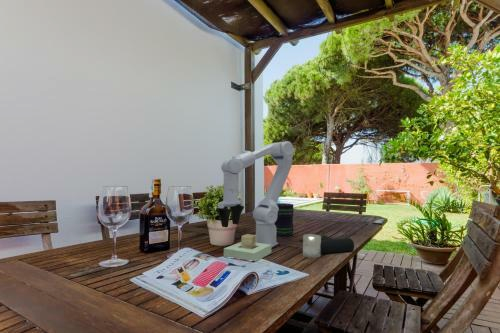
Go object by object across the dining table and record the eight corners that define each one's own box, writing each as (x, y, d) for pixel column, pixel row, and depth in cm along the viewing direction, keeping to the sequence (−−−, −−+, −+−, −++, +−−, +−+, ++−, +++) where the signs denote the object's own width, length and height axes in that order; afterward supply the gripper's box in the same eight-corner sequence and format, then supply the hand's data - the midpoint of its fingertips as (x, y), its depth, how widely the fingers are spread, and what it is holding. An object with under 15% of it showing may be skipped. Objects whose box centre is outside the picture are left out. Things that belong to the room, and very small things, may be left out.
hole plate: (243, 248, 118) (243, 240, 118) (271, 252, 112) (271, 244, 112) (223, 257, 105) (223, 248, 105) (254, 262, 100) (254, 253, 100)
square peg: (246, 253, 111) (246, 234, 111) (256, 254, 109) (256, 235, 109) (241, 255, 108) (241, 236, 108) (250, 257, 106) (251, 237, 106)
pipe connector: (304, 234, 121) (336, 233, 126) (304, 248, 121) (335, 245, 126) (320, 241, 110) (354, 239, 115) (320, 256, 110) (354, 253, 115)
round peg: (305, 252, 114) (305, 233, 114) (322, 254, 111) (322, 235, 111) (300, 256, 108) (300, 236, 109) (318, 258, 105) (318, 238, 106)
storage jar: (270, 236, 141) (270, 204, 141) (275, 232, 150) (275, 202, 151) (291, 238, 138) (291, 205, 138) (295, 234, 147) (295, 203, 147)
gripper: (229, 191, 107) (229, 229, 106) (249, 189, 120) (248, 223, 119) (213, 190, 110) (212, 227, 110) (233, 188, 123) (233, 222, 123)
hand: (230, 225), depth 115 cm, fingers open, 7 cm apart
